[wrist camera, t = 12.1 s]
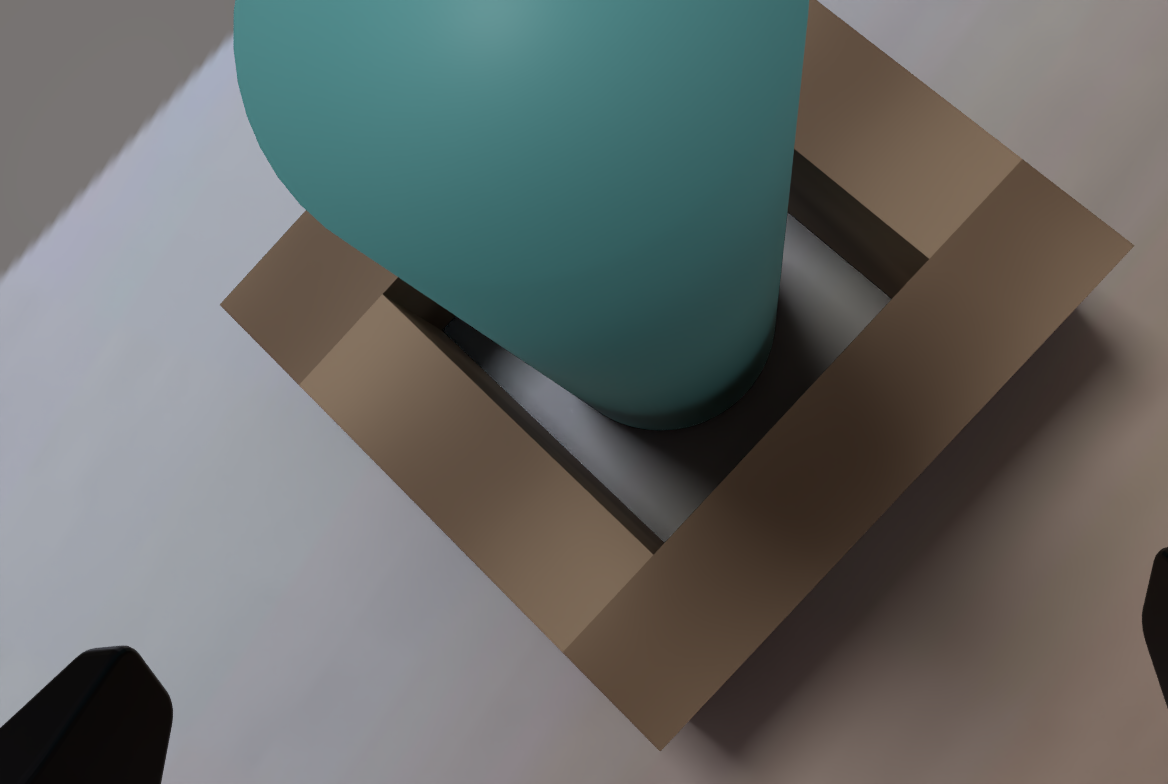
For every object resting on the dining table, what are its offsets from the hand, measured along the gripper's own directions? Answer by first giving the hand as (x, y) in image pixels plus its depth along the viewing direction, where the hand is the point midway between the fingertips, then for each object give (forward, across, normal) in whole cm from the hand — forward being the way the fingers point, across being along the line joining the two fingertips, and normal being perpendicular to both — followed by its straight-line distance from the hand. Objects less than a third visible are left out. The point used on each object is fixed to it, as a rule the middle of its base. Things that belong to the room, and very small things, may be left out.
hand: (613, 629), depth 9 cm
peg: (+11, 0, +4) cm, 12 cm away
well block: (+11, 0, +4) cm, 12 cm away
